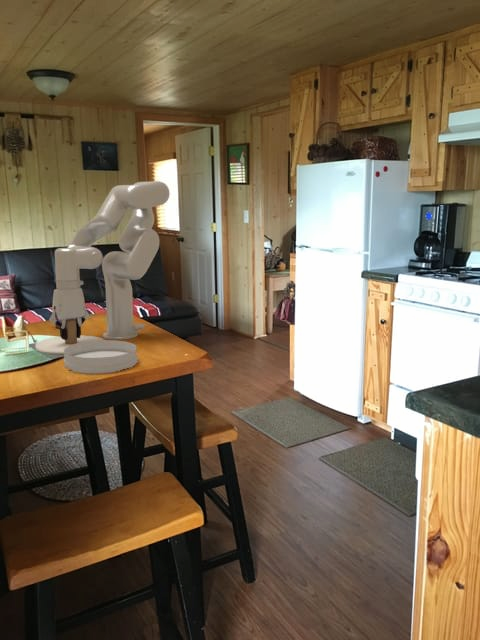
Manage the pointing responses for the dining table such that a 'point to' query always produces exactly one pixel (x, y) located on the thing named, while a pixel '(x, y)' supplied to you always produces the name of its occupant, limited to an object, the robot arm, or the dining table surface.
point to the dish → (100, 356)
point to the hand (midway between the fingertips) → (70, 337)
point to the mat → (45, 353)
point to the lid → (59, 345)
